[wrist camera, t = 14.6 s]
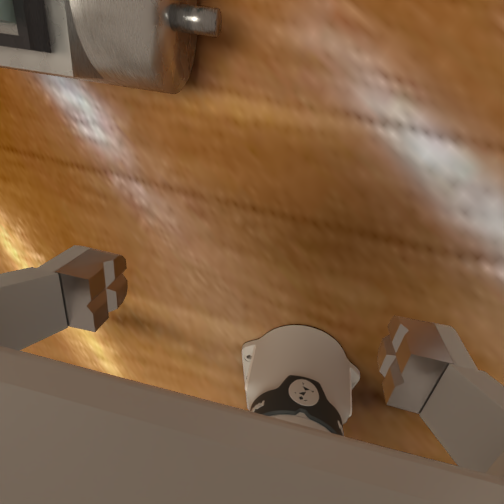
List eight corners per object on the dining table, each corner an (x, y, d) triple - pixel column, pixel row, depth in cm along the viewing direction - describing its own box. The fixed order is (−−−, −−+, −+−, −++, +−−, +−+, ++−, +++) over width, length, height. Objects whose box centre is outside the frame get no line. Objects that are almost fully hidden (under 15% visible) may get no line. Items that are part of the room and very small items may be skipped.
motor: (231, 99, 36) (177, 102, 23) (26, 67, 39) (-132, 53, 25) (243, -39, 31) (181, -145, 17) (3, -63, 34) (-214, -171, 20)
